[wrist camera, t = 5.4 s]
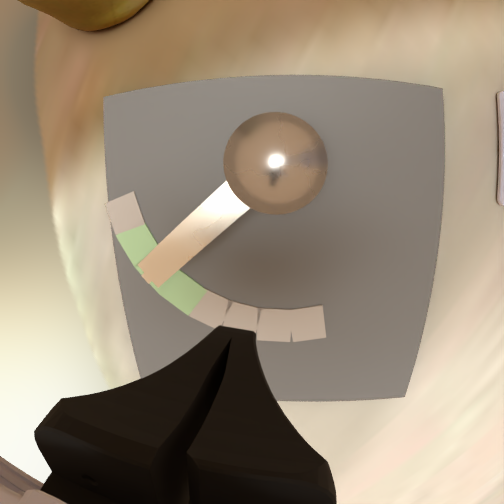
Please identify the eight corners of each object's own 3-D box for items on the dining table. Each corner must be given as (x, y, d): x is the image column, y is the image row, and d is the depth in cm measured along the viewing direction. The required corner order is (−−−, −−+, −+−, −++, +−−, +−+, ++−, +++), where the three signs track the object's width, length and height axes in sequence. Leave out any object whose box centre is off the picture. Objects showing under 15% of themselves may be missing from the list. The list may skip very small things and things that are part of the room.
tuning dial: (283, 106, 16) (280, 91, 12) (335, 166, 17) (348, 171, 13) (130, 247, 20) (94, 271, 16) (175, 297, 21) (148, 331, 16)
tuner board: (436, 90, 16) (443, 88, 15) (401, 389, 22) (404, 398, 21) (108, 99, 18) (99, 97, 17) (144, 379, 25) (139, 387, 24)
